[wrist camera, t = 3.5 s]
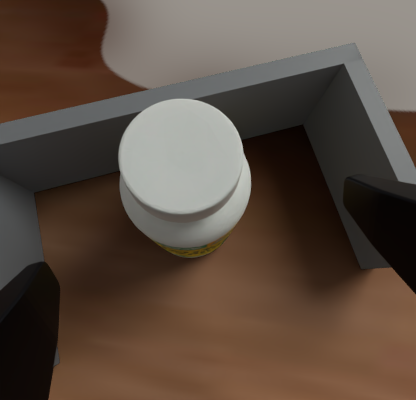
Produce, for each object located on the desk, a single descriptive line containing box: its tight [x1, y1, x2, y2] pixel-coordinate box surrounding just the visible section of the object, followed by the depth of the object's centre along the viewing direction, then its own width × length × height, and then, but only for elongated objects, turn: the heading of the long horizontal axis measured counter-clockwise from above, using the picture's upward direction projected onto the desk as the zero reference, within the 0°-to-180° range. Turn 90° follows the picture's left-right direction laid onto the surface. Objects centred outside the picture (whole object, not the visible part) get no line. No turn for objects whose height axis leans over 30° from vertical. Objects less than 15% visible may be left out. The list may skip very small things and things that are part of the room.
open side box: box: [0, 43, 416, 366], centre depth 16 cm, size 11×20×6 cm, turn 106°
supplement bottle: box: [118, 99, 251, 258], centre depth 14 cm, size 5×5×10 cm
